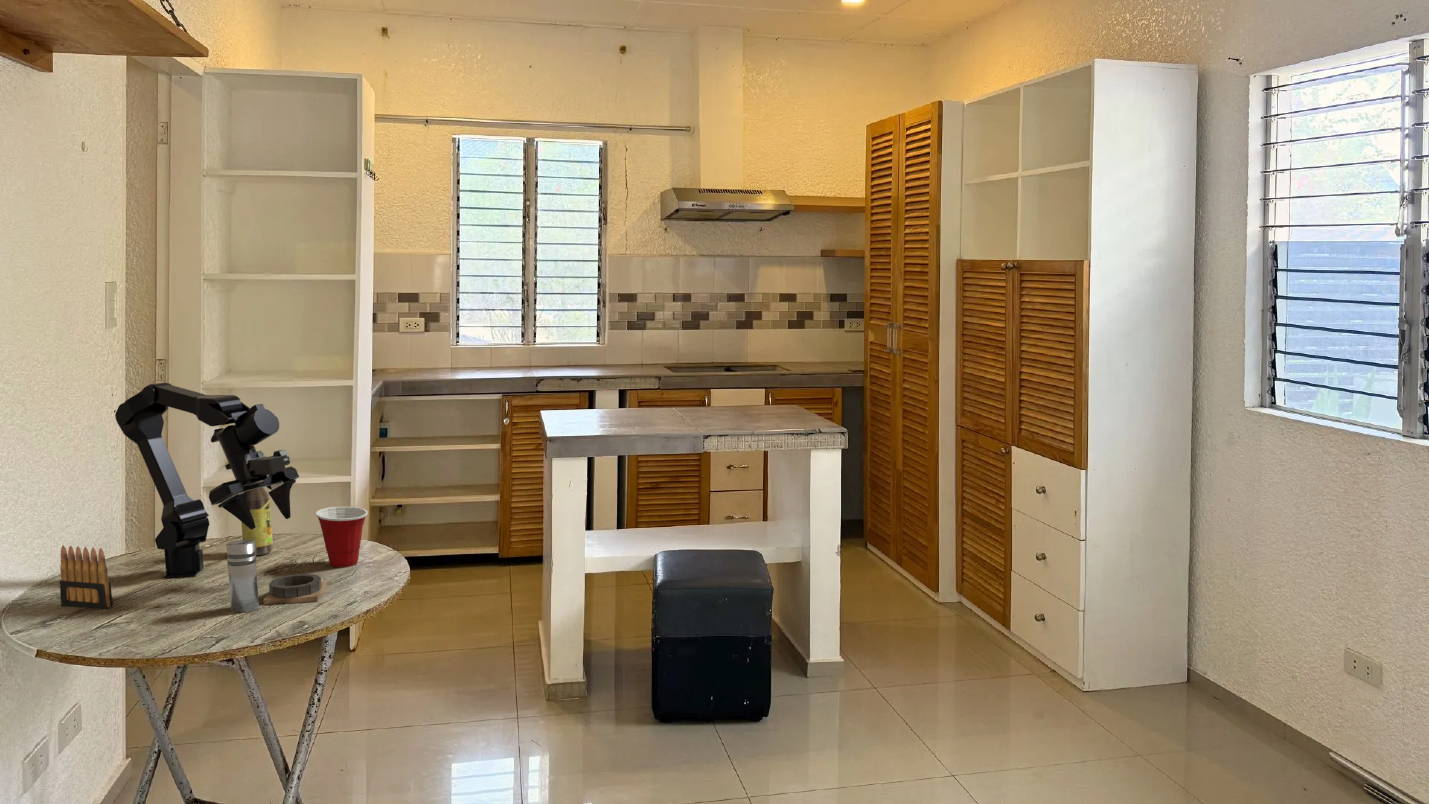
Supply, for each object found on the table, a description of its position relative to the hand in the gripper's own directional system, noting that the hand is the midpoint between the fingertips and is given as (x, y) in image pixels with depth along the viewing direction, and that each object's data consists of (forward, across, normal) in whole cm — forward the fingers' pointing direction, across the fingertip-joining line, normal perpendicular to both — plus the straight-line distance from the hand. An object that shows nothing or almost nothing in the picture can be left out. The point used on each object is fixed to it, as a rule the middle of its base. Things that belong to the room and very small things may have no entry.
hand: (271, 523), depth 224 cm
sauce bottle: (+2, +18, +28) cm, 33 cm away
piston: (+14, -12, +2) cm, 19 cm away
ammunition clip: (+1, -23, +29) cm, 37 cm away
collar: (+16, -2, -1) cm, 16 cm away
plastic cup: (+13, +19, +6) cm, 24 cm away
